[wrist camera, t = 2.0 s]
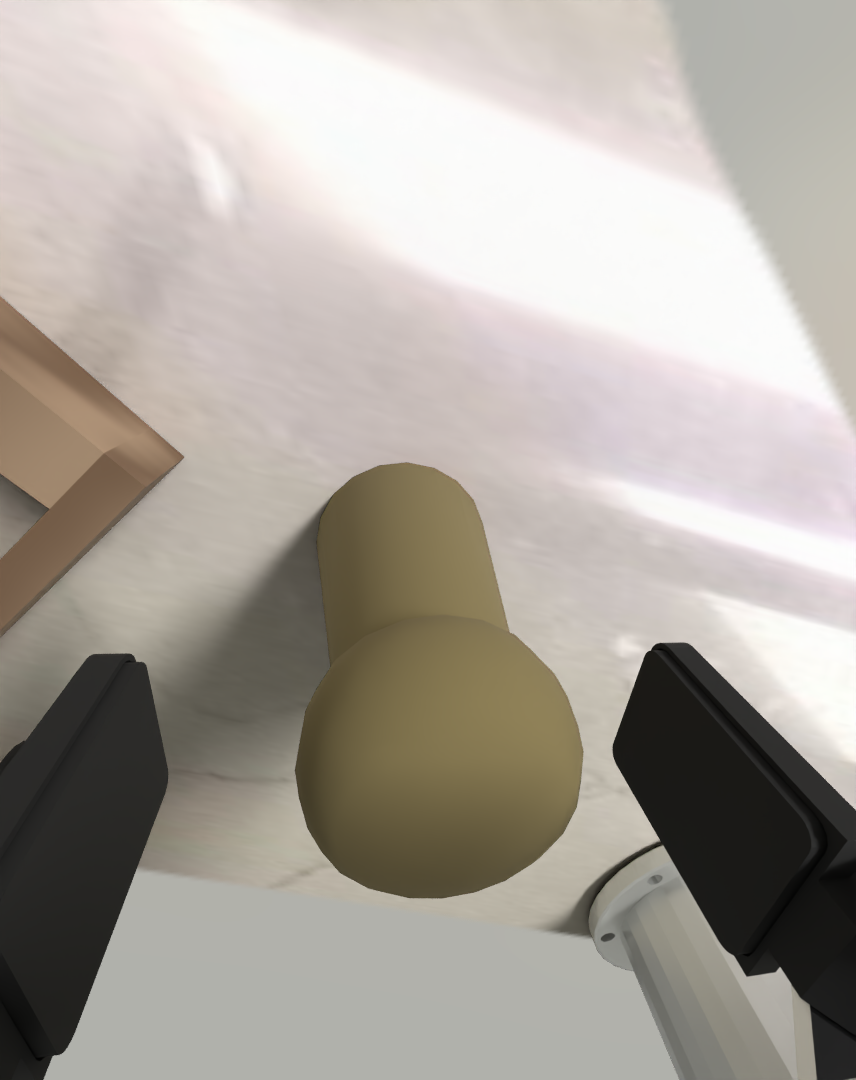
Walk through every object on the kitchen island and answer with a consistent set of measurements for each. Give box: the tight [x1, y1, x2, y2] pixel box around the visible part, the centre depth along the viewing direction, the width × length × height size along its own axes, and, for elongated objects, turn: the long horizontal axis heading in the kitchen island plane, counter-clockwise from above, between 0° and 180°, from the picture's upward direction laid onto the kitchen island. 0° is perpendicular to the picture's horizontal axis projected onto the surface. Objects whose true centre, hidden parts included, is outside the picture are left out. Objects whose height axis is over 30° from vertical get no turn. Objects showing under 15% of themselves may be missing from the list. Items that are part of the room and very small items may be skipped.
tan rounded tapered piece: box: [295, 463, 583, 898], centre depth 12 cm, size 6×6×11 cm
